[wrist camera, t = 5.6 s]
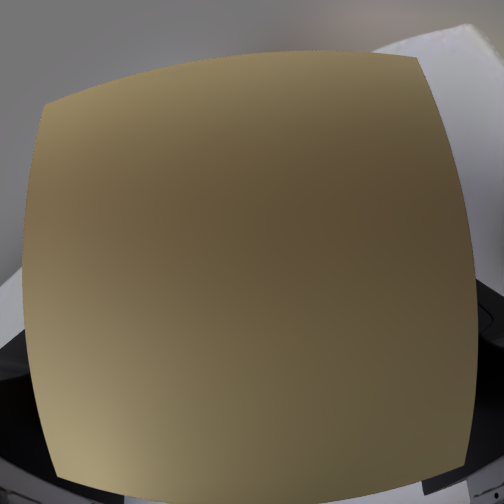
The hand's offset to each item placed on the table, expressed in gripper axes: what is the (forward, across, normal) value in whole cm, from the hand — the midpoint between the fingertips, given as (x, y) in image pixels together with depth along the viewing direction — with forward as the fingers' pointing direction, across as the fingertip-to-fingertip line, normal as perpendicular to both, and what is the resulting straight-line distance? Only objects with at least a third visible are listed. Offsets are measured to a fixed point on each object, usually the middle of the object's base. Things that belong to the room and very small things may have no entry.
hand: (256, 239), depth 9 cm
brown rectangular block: (+4, 0, +6) cm, 7 cm away
